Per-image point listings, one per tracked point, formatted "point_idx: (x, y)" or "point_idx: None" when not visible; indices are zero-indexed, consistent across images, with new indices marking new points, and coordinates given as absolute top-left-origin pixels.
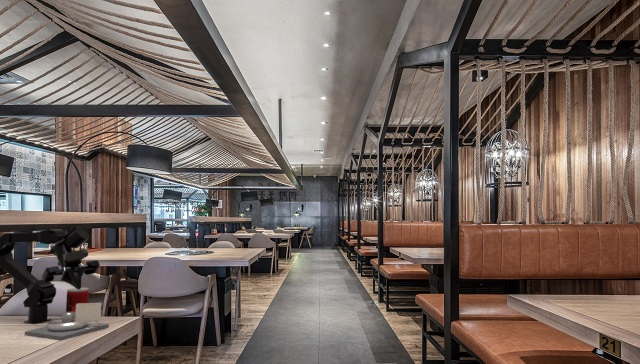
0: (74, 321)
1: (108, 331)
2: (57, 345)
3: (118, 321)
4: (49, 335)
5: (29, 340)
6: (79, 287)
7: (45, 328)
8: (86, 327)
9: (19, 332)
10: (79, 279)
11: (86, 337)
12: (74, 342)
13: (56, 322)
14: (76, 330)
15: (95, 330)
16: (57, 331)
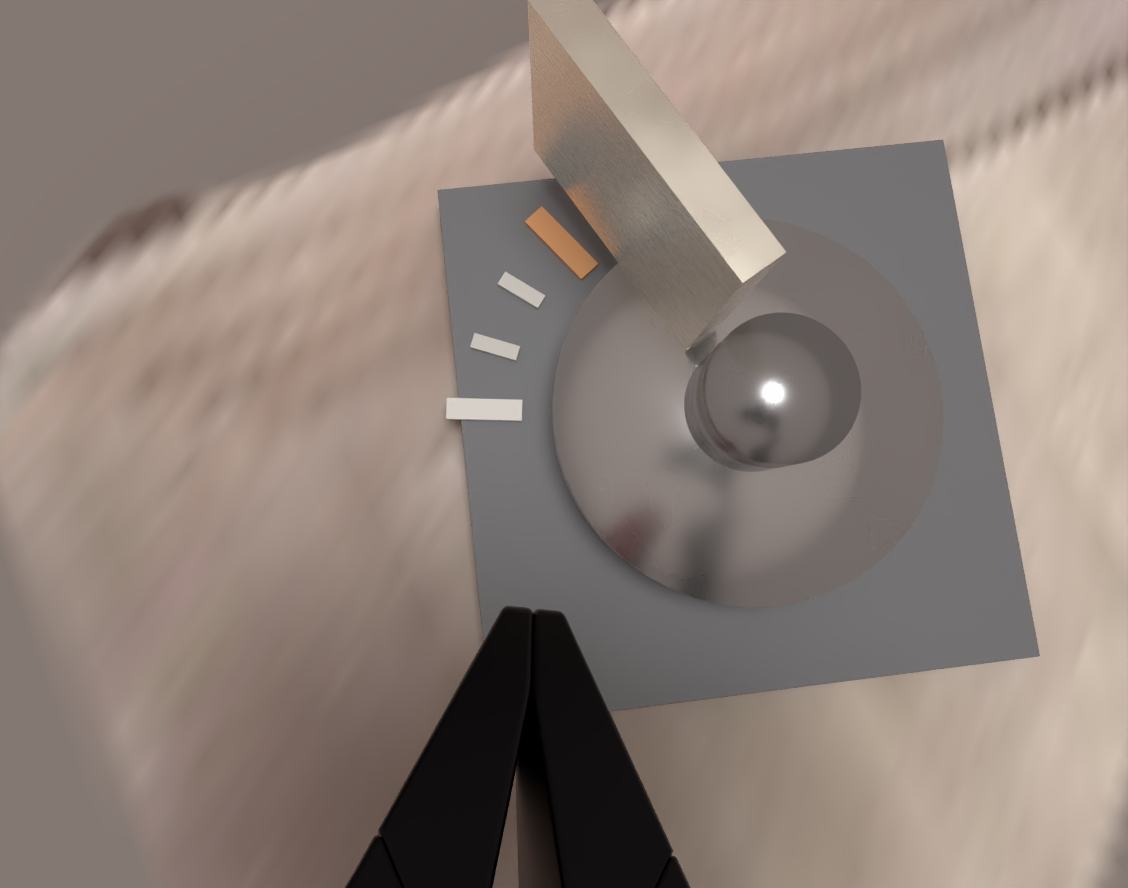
0: (714, 347)
1: None
2: (1013, 43)
3: (214, 357)
4: (969, 294)
5: (1069, 404)
6: (544, 612)
7: (867, 597)
8: None
9: (990, 825)
10: (452, 837)
11: (760, 63)
12: (897, 7)
13: (843, 482)
14: None
15: None
16: None
